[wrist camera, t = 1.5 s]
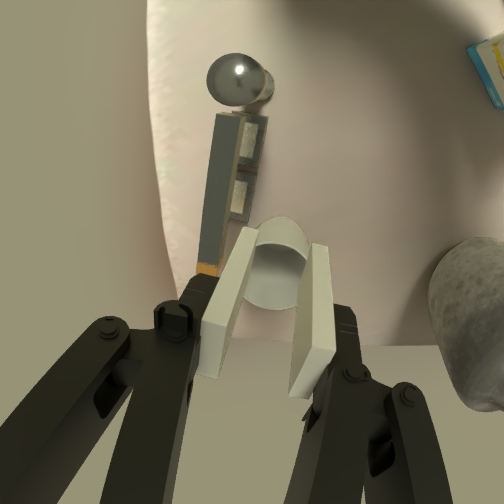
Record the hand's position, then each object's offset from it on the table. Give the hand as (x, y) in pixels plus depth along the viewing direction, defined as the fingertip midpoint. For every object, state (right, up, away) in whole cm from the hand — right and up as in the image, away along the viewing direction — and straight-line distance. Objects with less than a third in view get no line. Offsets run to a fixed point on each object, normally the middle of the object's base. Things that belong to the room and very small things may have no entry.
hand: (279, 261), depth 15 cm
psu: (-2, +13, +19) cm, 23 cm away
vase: (+30, -2, +22) cm, 37 cm away
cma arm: (-4, +8, +12) cm, 15 cm away
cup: (+2, +3, +24) cm, 25 cm away
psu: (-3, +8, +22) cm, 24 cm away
